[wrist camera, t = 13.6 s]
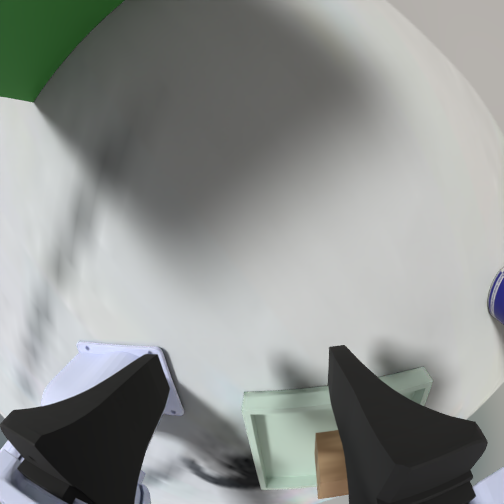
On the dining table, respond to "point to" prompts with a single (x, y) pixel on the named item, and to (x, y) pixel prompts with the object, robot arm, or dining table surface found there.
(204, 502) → the dining table surface
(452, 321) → the dining table surface
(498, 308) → the energy drink
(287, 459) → the tray
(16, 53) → the hardback book
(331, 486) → the walnut block
